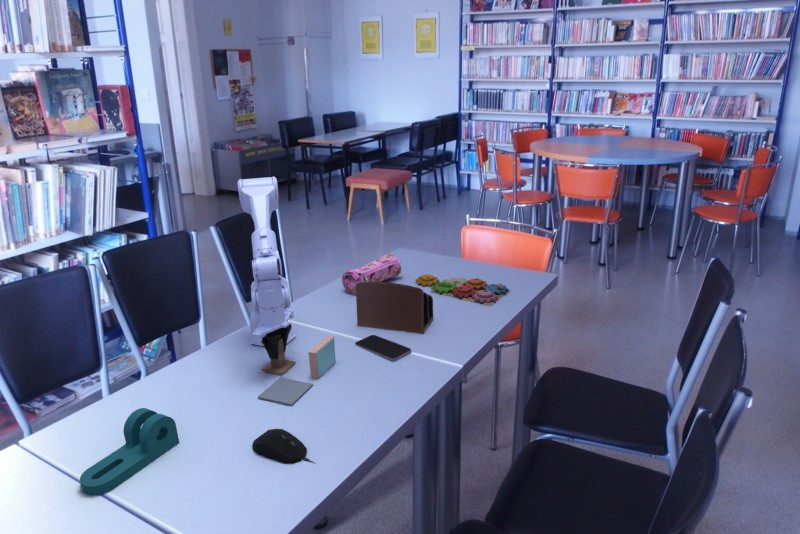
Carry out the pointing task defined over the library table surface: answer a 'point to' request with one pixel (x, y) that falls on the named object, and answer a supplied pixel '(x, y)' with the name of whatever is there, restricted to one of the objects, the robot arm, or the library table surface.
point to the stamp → (279, 362)
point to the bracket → (132, 451)
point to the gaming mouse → (280, 447)
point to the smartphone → (383, 347)
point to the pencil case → (372, 272)
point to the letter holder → (393, 307)
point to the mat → (285, 391)
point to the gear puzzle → (465, 289)
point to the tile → (322, 357)
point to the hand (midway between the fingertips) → (277, 355)
